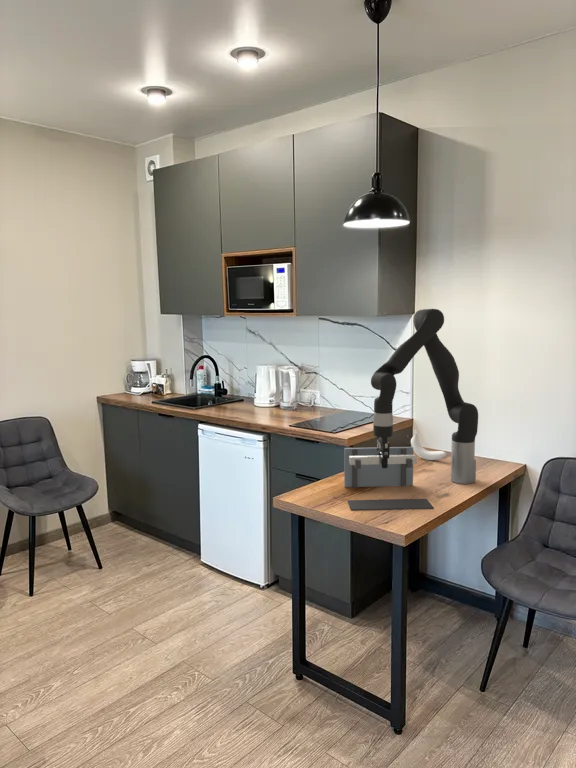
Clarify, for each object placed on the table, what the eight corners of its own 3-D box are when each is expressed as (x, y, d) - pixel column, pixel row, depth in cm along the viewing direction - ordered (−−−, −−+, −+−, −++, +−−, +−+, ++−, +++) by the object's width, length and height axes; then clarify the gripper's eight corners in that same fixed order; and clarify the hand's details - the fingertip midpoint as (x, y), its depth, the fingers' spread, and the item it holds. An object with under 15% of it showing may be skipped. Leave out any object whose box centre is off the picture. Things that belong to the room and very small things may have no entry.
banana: (444, 464, 267) (445, 433, 265) (408, 458, 279) (408, 428, 277) (449, 462, 270) (450, 431, 269) (413, 456, 283) (413, 426, 281)
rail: (415, 462, 226) (415, 454, 225) (416, 463, 223) (416, 456, 223) (349, 463, 225) (349, 455, 225) (350, 464, 223) (350, 457, 222)
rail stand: (412, 484, 236) (412, 446, 234) (419, 494, 223) (420, 454, 221) (344, 486, 235) (344, 448, 233) (348, 495, 223) (348, 455, 221)
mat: (426, 499, 217) (426, 498, 217) (433, 508, 207) (433, 507, 207) (347, 501, 216) (347, 500, 216) (350, 510, 207) (350, 509, 206)
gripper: (396, 427, 215) (396, 470, 217) (389, 420, 229) (388, 460, 231) (376, 427, 215) (376, 470, 217) (370, 420, 229) (370, 461, 231)
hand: (382, 465), depth 224 cm, fingers open, 6 cm apart
